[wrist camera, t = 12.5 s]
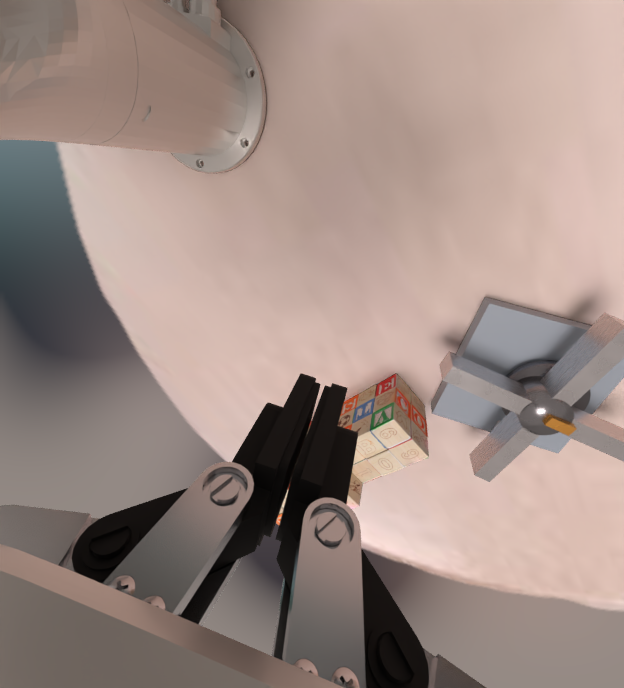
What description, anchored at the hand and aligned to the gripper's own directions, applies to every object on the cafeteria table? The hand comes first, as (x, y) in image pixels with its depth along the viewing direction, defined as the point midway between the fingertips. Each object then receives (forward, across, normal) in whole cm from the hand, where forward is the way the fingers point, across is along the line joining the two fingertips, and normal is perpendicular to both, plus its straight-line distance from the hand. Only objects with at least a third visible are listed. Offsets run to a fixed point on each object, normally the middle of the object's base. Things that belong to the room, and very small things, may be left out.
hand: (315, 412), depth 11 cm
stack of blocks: (+28, -3, +24) cm, 37 cm away
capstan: (+25, -20, +9) cm, 33 cm away
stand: (+27, -20, +9) cm, 35 cm away
